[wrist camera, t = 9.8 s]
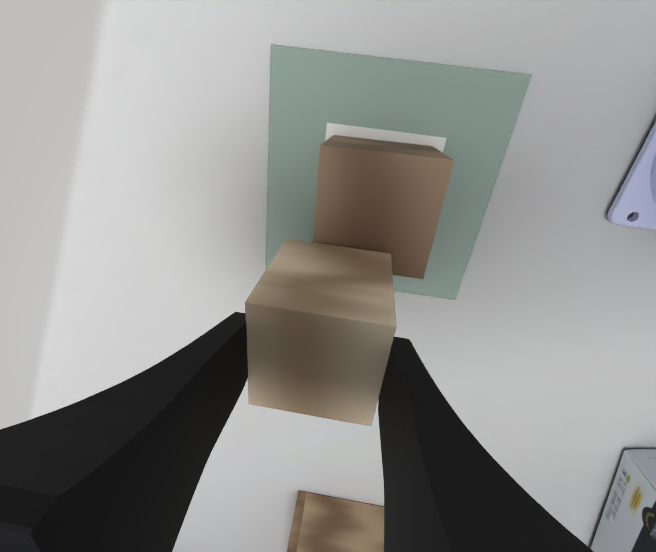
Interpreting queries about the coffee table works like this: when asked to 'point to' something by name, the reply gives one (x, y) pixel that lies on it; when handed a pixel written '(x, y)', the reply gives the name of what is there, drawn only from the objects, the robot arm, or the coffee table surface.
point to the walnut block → (381, 198)
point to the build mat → (389, 125)
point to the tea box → (630, 506)
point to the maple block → (321, 331)
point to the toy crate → (335, 525)
